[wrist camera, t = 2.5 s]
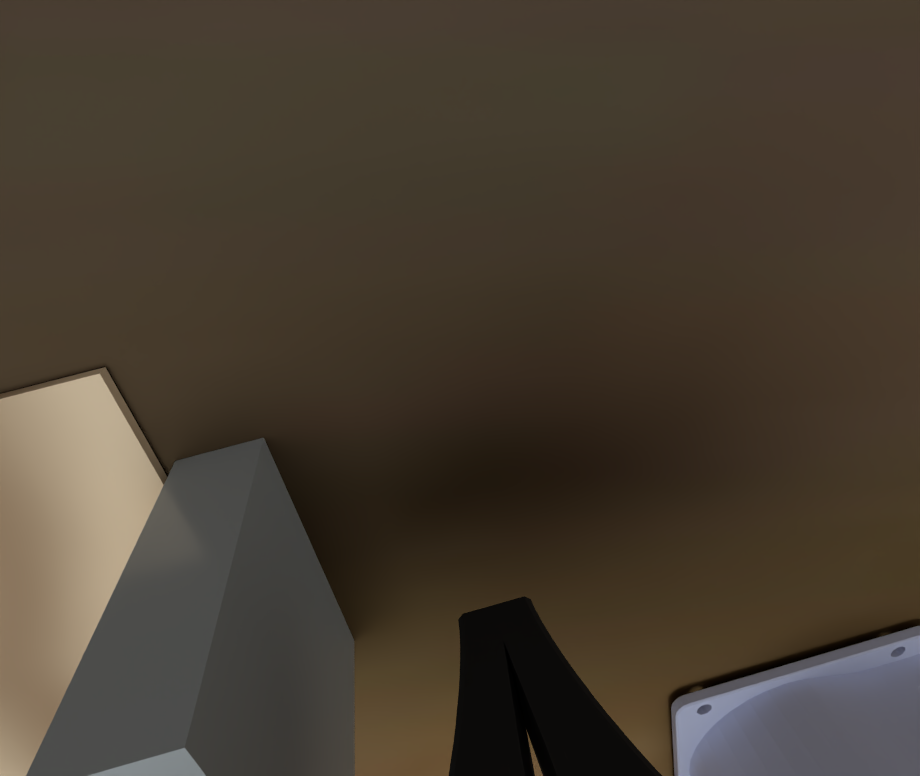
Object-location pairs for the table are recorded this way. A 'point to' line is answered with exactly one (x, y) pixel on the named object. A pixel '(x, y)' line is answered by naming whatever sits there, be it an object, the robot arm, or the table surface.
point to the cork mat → (62, 539)
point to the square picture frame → (213, 642)
